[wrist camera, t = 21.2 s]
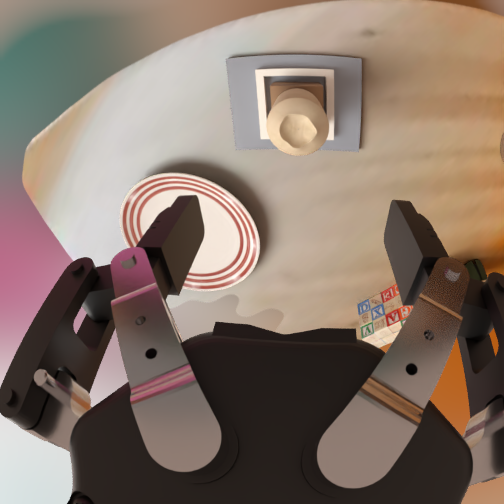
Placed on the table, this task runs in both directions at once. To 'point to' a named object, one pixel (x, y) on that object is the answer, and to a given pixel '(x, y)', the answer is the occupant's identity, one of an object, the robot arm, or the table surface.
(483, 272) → the character mug
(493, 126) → the table surface
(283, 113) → the candle
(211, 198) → the dinner plate
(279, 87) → the walnut block
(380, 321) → the stack of blocks
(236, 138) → the baseplate
